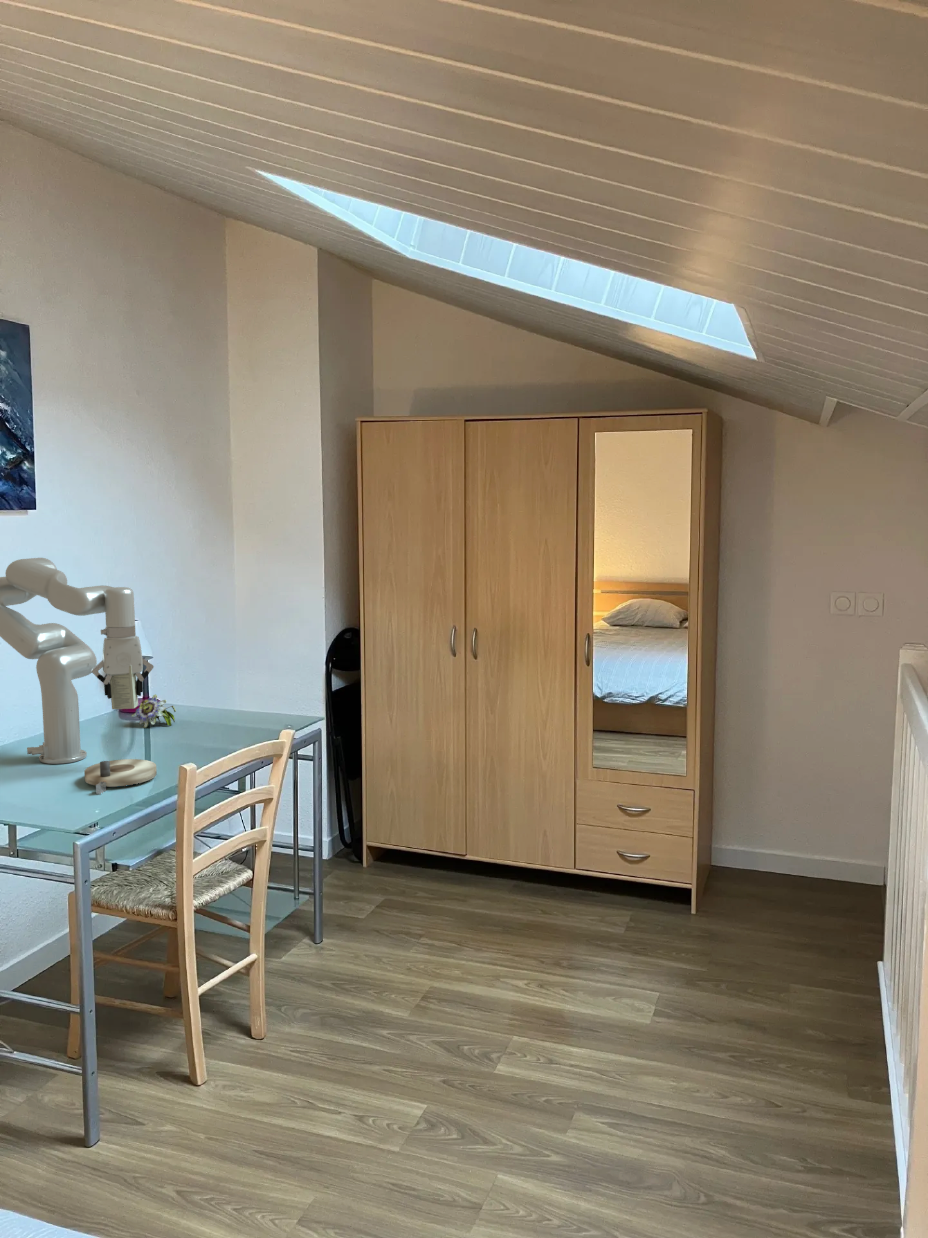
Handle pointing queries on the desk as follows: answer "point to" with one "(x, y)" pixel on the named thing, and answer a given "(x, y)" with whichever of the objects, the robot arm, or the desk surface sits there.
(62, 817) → the desk surface
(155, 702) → the passion flower
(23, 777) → the desk surface
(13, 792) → the desk surface
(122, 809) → the desk surface
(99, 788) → the grey small block
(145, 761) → the turntable
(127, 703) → the skincare box
